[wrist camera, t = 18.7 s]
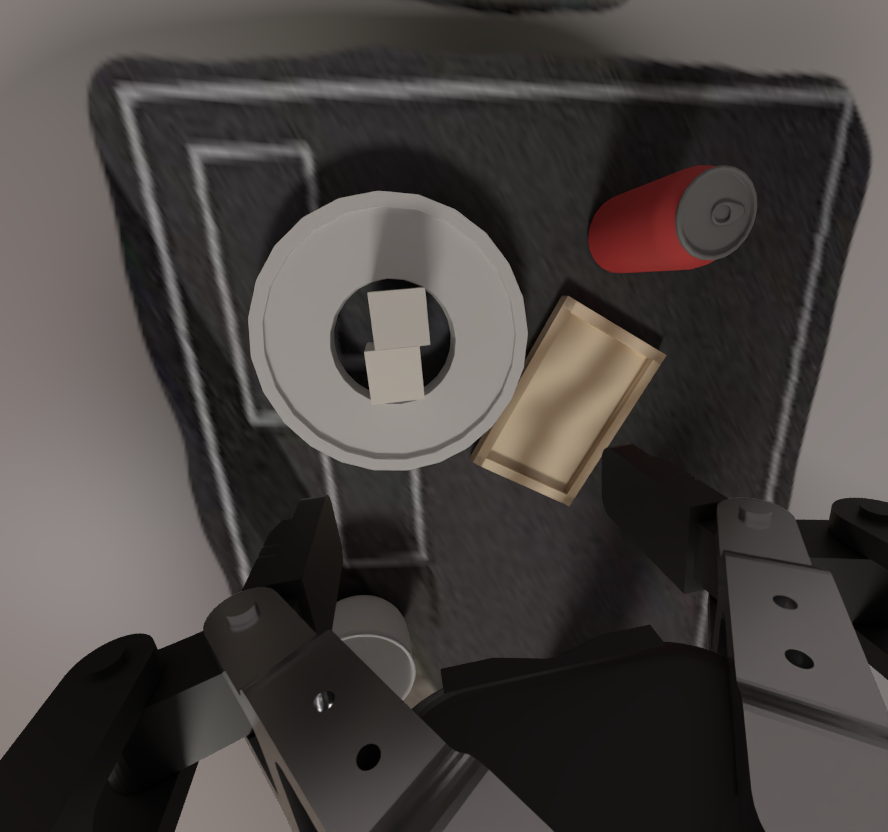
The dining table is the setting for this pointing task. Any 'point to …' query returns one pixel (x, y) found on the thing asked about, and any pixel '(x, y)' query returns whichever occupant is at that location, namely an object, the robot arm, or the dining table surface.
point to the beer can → (675, 221)
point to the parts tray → (568, 402)
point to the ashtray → (355, 265)
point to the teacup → (377, 639)
